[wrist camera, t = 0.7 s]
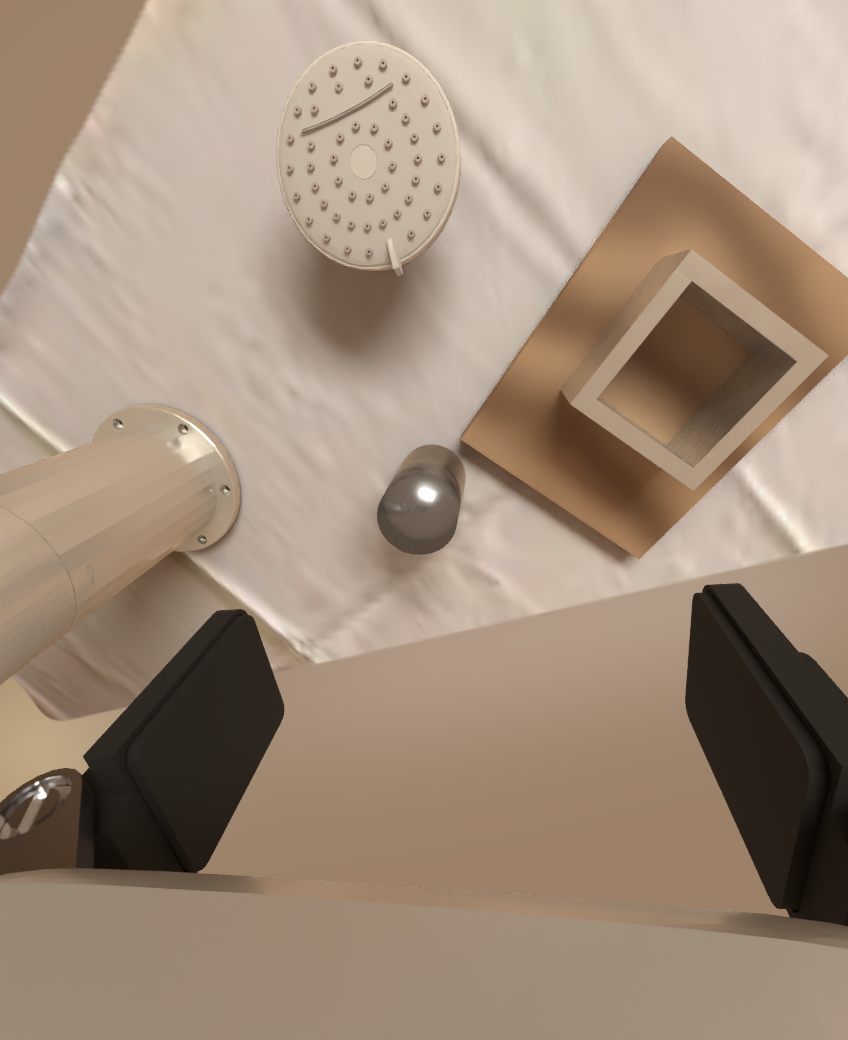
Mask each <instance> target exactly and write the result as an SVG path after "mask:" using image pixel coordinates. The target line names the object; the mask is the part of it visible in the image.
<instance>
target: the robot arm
mask: <svg viewBox="0 0 848 1040" xmlns="http://www.w3.org/2000/svg"><path fill="white" fill-rule="evenodd" d="M239 506H240V486H239V480H238V476H237V473H236V470H235V468H234V465H233V462H232V461H231V459H230V457H229V455H228V453H227V452H226V450H225V448H224V447H223V446H222V445H221V443H220V442H219V441H218V439H217V438H216V437H215V436H214V435H213V434H212V433H211V432H210V431H209V430H208V429H207V428H206V427H205V426H204V425H202V424H201V423H199V422H198V421H196V420H195V419H193V418H192V417H191V416H189V415H187V414H184V413H182V412H180V411H178V410H176V409H173V408H169V407H165V406H162V405H150V404H145V405H138V406H132V407H129V408H126V409H123V410H120V411H118V412H116V413H114V414H112V415H110V416H109V417H108V418H107V419H106V420H105V421H104V422H103V423H102V424H101V425H100V426H99V428H98V430H97V431H96V433H95V435H94V438H93V441H92V443H90V444H87V445H84V446H81V447H78V448H76V449H73V450H70V451H67V452H64V453H61V454H58V455H56V456H53V457H50V458H47V459H44V460H41V461H38V462H36V463H33V464H30V465H27V466H24V467H21V468H18V469H16V470H13V471H10V472H7V473H4V474H1V475H0V685H1V684H2V683H3V682H5V681H6V680H7V679H8V678H10V677H11V676H12V675H13V674H15V673H16V672H17V671H18V670H20V669H21V668H22V667H23V666H25V665H26V664H27V663H28V662H30V661H31V660H32V659H33V658H35V657H36V656H37V655H39V654H40V653H41V652H42V651H44V650H45V649H46V648H48V647H49V646H50V645H51V644H53V643H54V642H55V641H57V640H58V639H59V638H61V637H62V636H63V635H64V634H66V633H67V632H68V631H70V630H71V629H72V628H74V627H75V626H76V625H77V624H79V623H80V622H81V621H83V620H84V619H85V618H87V617H88V616H89V615H90V614H92V613H93V612H94V611H96V610H97V609H98V608H100V607H101V606H102V605H103V604H105V603H106V602H107V601H109V600H110V599H111V598H113V597H114V596H115V595H117V594H118V593H119V592H120V591H122V590H123V589H124V588H126V587H127V586H128V585H130V584H131V583H132V582H133V581H135V580H136V579H137V578H139V577H140V576H141V575H143V574H144V573H145V572H146V571H148V570H149V569H150V568H152V567H153V566H154V565H156V564H157V563H158V562H160V561H161V560H162V559H163V558H165V557H166V556H167V555H169V554H170V553H171V552H173V551H178V552H189V551H196V550H200V549H203V548H206V547H208V546H210V545H212V544H214V543H215V542H217V541H218V540H219V539H220V538H221V537H223V536H224V535H225V534H226V533H227V532H228V530H229V529H230V528H231V527H232V525H233V523H234V521H235V519H236V517H237V515H238V510H239ZM685 703H686V710H687V714H688V717H689V720H690V722H691V724H692V727H693V729H694V731H695V733H696V736H697V738H698V740H699V742H700V745H701V747H702V749H703V751H704V753H705V756H706V758H707V760H708V762H709V765H710V767H711V769H712V771H713V773H714V776H715V778H716V780H717V783H718V785H719V787H720V789H721V791H722V793H723V796H724V798H725V800H726V802H727V805H728V807H729V809H730V812H731V814H732V816H733V818H734V820H735V823H736V825H737V827H738V829H739V832H740V834H741V836H742V838H743V840H744V843H745V845H746V847H747V849H748V852H749V854H750V856H751V858H752V860H753V863H754V865H755V867H756V870H757V871H758V874H759V876H760V878H761V881H762V883H763V885H764V887H765V889H766V892H767V894H768V896H769V898H770V900H771V902H772V903H773V905H774V906H775V907H776V908H777V909H786V910H787V911H788V914H789V916H790V917H783V916H775V915H768V914H759V913H747V912H737V911H726V910H715V909H703V908H692V907H681V906H670V905H658V904H647V903H635V902H621V901H608V900H607V901H606V900H594V899H580V898H566V897H552V896H538V895H524V894H510V893H496V892H482V891H467V890H452V889H438V888H423V887H407V886H392V885H378V884H362V883H346V882H330V881H316V880H301V879H300V880H299V879H284V878H268V877H251V876H250V877H249V876H233V875H217V874H199V873H197V872H198V871H200V870H202V869H203V868H204V867H205V866H206V865H207V863H208V862H209V860H210V858H211V856H212V854H213V852H214V850H215V848H216V846H217V844H218V842H219V841H220V839H221V837H222V835H223V833H224V831H225V829H226V827H227V825H228V823H229V821H230V819H231V818H232V816H233V814H234V812H235V810H236V808H237V806H238V804H239V802H240V800H241V798H242V796H243V794H244V793H245V791H246V789H247V786H248V785H249V783H250V781H251V779H252V777H253V775H254V773H255V771H256V769H257V768H258V766H259V763H260V762H261V760H262V758H263V756H264V754H265V752H266V750H267V748H268V746H269V745H270V743H271V740H272V739H273V737H274V735H275V733H276V731H277V729H278V727H279V725H280V723H281V721H282V719H283V715H284V704H283V700H282V697H281V694H280V692H279V689H278V686H277V683H276V680H275V677H274V674H273V672H272V669H271V666H270V663H269V660H268V657H267V654H266V652H265V649H264V646H263V643H262V640H261V637H260V635H259V632H258V629H257V626H256V623H255V621H254V619H253V617H252V616H250V615H248V614H247V613H246V612H245V611H244V610H241V609H237V610H220V611H216V612H215V613H214V614H213V615H212V616H211V617H210V618H209V619H208V620H207V621H206V622H205V624H204V625H203V626H202V627H201V628H200V629H199V630H198V631H197V632H196V633H195V634H194V636H193V637H192V638H191V639H190V640H189V641H188V642H187V643H186V644H185V645H184V646H183V648H182V649H181V650H180V651H179V652H178V653H177V654H176V655H175V656H174V657H173V658H172V660H171V661H170V662H169V663H168V664H167V665H166V666H165V667H164V668H163V669H162V671H161V672H160V673H159V674H158V675H157V676H156V677H155V678H154V679H153V680H152V681H151V683H150V684H149V685H148V686H147V687H146V688H145V689H144V690H143V691H142V692H141V693H140V695H139V696H138V697H137V698H136V699H135V700H134V701H133V702H132V703H131V704H130V705H129V707H128V708H127V709H126V710H125V711H124V712H123V713H122V714H121V715H120V716H119V717H118V719H117V720H116V721H115V722H114V723H113V724H112V725H111V726H110V727H109V728H108V730H107V731H106V732H105V733H104V734H103V735H102V736H101V737H100V738H99V739H98V740H97V741H96V743H95V744H94V745H93V746H92V747H91V748H90V749H89V750H88V751H87V752H86V754H85V755H84V756H83V757H84V759H85V761H86V762H87V764H88V766H89V768H88V769H87V771H86V772H85V773H84V774H83V775H81V774H80V773H79V772H78V771H77V770H75V769H69V768H63V769H57V770H52V771H50V772H47V773H45V774H42V775H39V776H37V777H35V778H34V779H32V780H30V781H28V782H26V783H25V784H23V785H22V786H20V787H19V788H17V789H16V790H15V791H13V792H12V793H11V794H9V795H8V796H7V797H6V798H5V799H4V800H3V801H1V802H0V1040H848V698H847V697H846V696H845V694H844V693H843V692H842V691H841V690H840V689H839V688H838V687H837V685H836V684H835V683H834V682H833V681H832V679H831V678H830V677H829V676H828V675H827V674H826V673H825V671H824V670H823V669H822V668H821V667H820V666H819V665H818V664H817V662H816V661H815V660H814V659H812V658H811V657H810V656H809V655H807V654H805V653H802V652H798V651H797V650H796V648H795V647H794V646H793V645H792V644H791V642H790V641H789V640H788V639H787V638H786V637H785V635H784V634H783V633H782V632H781V631H780V629H779V628H778V627H777V626H776V625H775V624H774V622H773V621H772V620H771V619H770V618H769V616H768V615H767V614H766V613H765V612H764V611H763V609H762V608H761V607H760V606H759V605H758V603H757V602H756V601H755V600H754V599H753V598H752V597H751V595H750V594H749V593H748V592H747V590H746V589H745V588H744V587H743V586H742V585H741V584H738V583H736V584H716V585H706V586H704V588H703V591H702V593H695V594H694V596H693V601H692V614H691V628H690V641H689V655H688V669H687V682H686V696H685Z"/></svg>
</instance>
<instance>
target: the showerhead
mask: <svg viewBox="0 0 848 1040" xmlns="http://www.w3.org/2000/svg"><path fill="white" fill-rule="evenodd" d="M276 161H277V172H278V178H279V184H280V188H281V192H282V195H283V198H284V201H285V204H286V206H287V209H288V211H289V213H290V215H291V217H292V219H293V221H294V223H295V224H296V226H297V227H298V229H299V230H300V232H301V233H302V234H303V236H304V237H305V238H306V239H307V240H308V241H309V242H310V244H311V245H312V246H313V247H315V248H316V249H317V250H318V251H319V252H320V253H322V254H323V255H324V256H326V257H327V258H329V259H331V260H332V261H334V262H336V263H339V264H341V265H343V266H346V267H349V268H354V269H358V270H369V271H380V270H388V269H392V268H393V269H394V271H395V273H396V275H397V276H400V275H402V274H403V271H402V267H401V266H402V265H404V264H406V263H408V262H410V261H412V260H413V259H415V258H416V257H418V256H419V255H420V254H422V253H423V252H424V251H425V250H426V249H428V248H429V247H430V246H431V245H432V243H433V242H434V241H435V240H436V239H437V237H438V236H439V235H440V233H441V232H442V230H443V228H444V227H445V225H446V223H447V221H448V219H449V217H450V215H451V213H452V210H453V207H454V204H455V201H456V197H457V194H458V189H459V183H460V174H461V157H460V146H459V138H458V131H457V127H456V122H455V119H454V116H453V113H452V110H451V107H450V105H449V102H448V100H447V98H446V96H445V94H444V92H443V90H442V88H441V87H440V85H439V84H438V82H437V81H436V79H435V78H434V77H433V76H432V74H431V73H430V72H429V71H428V70H427V69H426V68H425V67H424V66H423V65H422V64H421V63H420V62H419V61H418V60H417V59H415V58H414V57H413V56H411V55H410V54H408V53H407V52H405V51H403V50H401V49H399V48H397V47H395V46H392V45H389V44H386V43H381V42H375V41H358V42H352V43H347V44H344V45H341V46H338V47H336V48H334V49H332V50H330V51H328V52H327V53H325V54H323V55H322V56H320V57H319V58H318V59H317V60H316V61H314V62H313V63H312V64H311V65H310V66H309V67H308V68H307V69H306V70H305V71H304V73H303V74H302V75H301V77H300V78H299V79H298V81H297V82H296V84H295V85H294V87H293V89H292V91H291V93H290V95H289V97H288V99H287V101H286V104H285V106H284V109H283V112H282V116H281V119H280V124H279V128H278V135H277V147H276Z"/></svg>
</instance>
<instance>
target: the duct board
mask: <svg viewBox="0 0 848 1040" xmlns="http://www.w3.org/2000/svg"><path fill="white" fill-rule="evenodd" d="M847 355H848V278H847V277H846V276H845V275H843V274H842V273H841V272H840V271H838V270H837V269H836V268H835V267H833V266H832V265H831V264H830V263H829V262H827V261H826V260H825V259H824V258H822V257H821V256H820V255H819V254H817V253H816V252H815V251H814V250H812V249H811V248H810V247H809V246H807V245H806V244H805V243H804V242H802V241H801V240H800V239H799V238H797V237H796V236H795V235H794V234H792V233H791V232H790V231H789V230H787V229H786V228H785V227H784V226H783V225H781V224H780V223H779V222H778V221H776V220H775V219H774V218H773V217H771V216H770V215H769V214H768V213H766V212H765V211H764V210H763V209H761V208H760V207H759V206H758V205H756V204H755V203H754V202H753V201H751V200H750V199H749V198H748V197H746V196H745V195H744V194H743V193H741V192H740V191H739V190H738V189H736V188H735V187H734V186H733V185H732V184H730V183H729V182H728V181H727V180H725V179H724V178H723V177H722V176H720V175H719V174H718V173H717V172H715V171H714V170H713V169H712V168H710V167H709V166H708V165H707V164H705V163H704V162H703V161H702V160H700V159H699V158H698V157H697V156H695V155H694V154H693V153H692V152H690V151H689V150H688V149H687V148H686V147H684V146H683V145H682V144H681V143H679V142H678V141H677V140H676V139H674V138H673V137H671V138H669V139H668V140H667V141H666V142H665V143H664V144H663V145H662V147H661V148H660V150H659V151H658V153H657V154H656V156H655V157H654V158H653V160H652V161H651V163H650V164H649V166H648V167H647V169H646V170H645V171H644V173H643V174H642V176H641V177H640V179H639V180H638V182H637V183H636V184H635V186H634V187H633V189H632V190H631V192H630V193H629V195H628V196H627V197H626V199H625V200H624V202H623V203H622V205H621V206H620V207H619V209H618V210H617V212H616V213H615V215H614V216H613V218H612V219H611V220H610V222H609V223H608V225H607V226H606V228H605V229H604V231H603V232H602V233H601V235H600V236H599V238H598V239H597V241H596V242H595V244H594V245H593V246H592V248H591V249H590V251H589V252H588V254H587V255H586V257H585V258H584V259H583V261H582V262H581V264H580V265H579V267H578V268H577V269H576V271H575V272H574V274H573V275H572V277H571V278H570V280H569V281H568V282H567V284H566V285H565V287H564V288H563V290H562V291H561V293H560V294H559V295H558V297H557V298H556V300H555V301H554V303H553V304H552V306H551V307H550V308H549V310H548V311H547V313H546V314H545V316H544V317H543V319H542V320H541V321H540V323H539V324H538V326H537V327H536V329H535V330H534V331H533V333H532V334H531V336H530V337H529V339H528V340H527V342H526V343H525V344H524V346H523V347H522V349H521V350H520V352H519V353H518V355H517V356H516V357H515V359H514V360H513V362H512V363H511V365H510V366H509V368H508V369H507V370H506V372H505V373H504V375H503V376H502V378H501V379H500V381H499V382H498V383H497V385H496V386H495V388H494V389H493V391H492V392H491V394H490V395H489V396H488V398H487V399H486V401H485V402H484V404H483V405H482V406H481V408H480V409H479V411H478V412H477V414H476V415H475V417H474V418H473V419H472V421H471V422H470V424H469V425H468V427H467V428H466V430H465V431H464V432H463V434H462V437H461V440H462V441H463V442H465V443H466V444H468V445H469V446H471V447H472V448H474V449H475V450H477V451H478V452H480V453H481V454H483V455H484V456H486V457H487V458H489V459H490V460H492V461H493V462H495V463H496V464H498V465H499V466H501V467H502V468H504V469H505V470H507V471H508V472H510V473H511V474H513V475H514V476H516V477H517V478H518V479H520V480H521V481H523V482H524V483H526V484H527V485H529V486H530V487H532V488H533V489H535V490H536V491H538V492H539V493H541V494H542V495H544V496H545V497H547V498H548V499H550V500H551V501H553V502H554V503H556V504H557V505H559V506H560V507H562V508H563V509H565V510H566V511H568V512H569V513H571V514H572V515H574V516H575V517H577V518H578V519H580V520H581V521H583V522H584V523H586V524H587V525H589V526H590V527H591V528H593V529H594V530H596V531H597V532H599V533H600V534H602V535H603V536H605V537H606V538H608V539H609V540H611V541H612V542H614V543H615V544H617V545H618V546H620V547H621V548H623V549H624V550H626V551H627V552H629V553H630V554H632V555H633V556H635V557H636V558H638V559H640V558H641V557H642V556H643V555H644V554H645V553H646V552H647V551H648V550H649V549H650V548H651V547H652V546H653V545H654V544H655V543H656V542H657V541H658V540H659V539H660V538H661V537H662V536H663V535H664V534H665V533H666V532H667V531H668V530H669V529H670V528H671V527H672V526H673V525H674V524H675V523H676V522H677V521H679V520H680V519H681V518H682V517H683V516H684V515H685V514H686V513H687V512H688V511H689V510H690V509H691V508H692V507H693V506H694V505H695V504H696V503H697V502H698V501H699V500H700V499H701V498H702V497H703V496H704V495H705V494H706V493H707V492H708V491H709V490H710V489H711V488H712V487H713V486H714V485H715V484H716V483H717V482H718V481H719V480H720V479H721V478H722V477H723V476H724V475H725V474H726V473H727V472H728V471H729V470H730V469H731V468H732V467H733V466H735V465H736V464H737V463H738V462H739V461H740V460H741V459H742V458H743V457H744V456H745V455H746V454H747V453H748V452H749V451H750V450H751V449H752V448H753V447H754V446H755V445H756V444H757V443H758V442H759V441H760V440H761V439H762V438H763V437H764V436H765V435H766V434H767V433H768V432H769V431H770V430H771V429H772V428H773V427H774V426H775V425H776V424H777V423H778V422H779V421H780V420H781V419H782V418H783V417H784V416H785V415H786V414H787V413H788V412H789V411H791V410H792V409H793V408H794V407H795V406H796V405H797V404H798V403H799V402H800V401H801V400H802V399H803V398H804V397H805V396H806V395H807V394H808V393H809V392H810V391H811V390H812V389H813V388H814V387H815V386H816V385H817V384H818V383H819V382H820V381H821V380H822V379H823V378H824V377H825V376H826V375H827V374H828V373H829V372H830V371H831V370H832V369H833V368H834V367H835V366H836V365H837V364H838V363H839V362H840V361H841V360H842V359H843V358H844V357H845V356H847Z"/></svg>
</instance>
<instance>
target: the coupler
mask: <svg viewBox="0 0 848 1040" xmlns="http://www.w3.org/2000/svg"><path fill="white" fill-rule="evenodd" d="M464 485H465V470H464V466H463V464H462V462H461V460H460V459H459V458H458V456H457V455H456V454H455V453H453V452H452V451H451V450H449V449H447V448H445V447H443V446H439V445H425V446H421V447H419V448H417V449H415V450H413V451H412V452H411V453H410V454H409V455H408V456H407V457H406V459H405V460H404V462H403V464H402V465H401V467H400V469H399V470H398V472H397V474H396V475H395V477H394V479H393V480H392V482H391V484H390V486H389V487H388V489H387V491H386V492H385V494H384V496H383V497H382V499H381V501H380V503H379V506H378V512H377V518H378V524H379V527H380V530H381V532H382V534H383V535H384V537H385V538H386V539H387V540H388V541H389V542H390V543H391V544H392V545H393V546H395V547H396V548H398V549H400V550H402V551H404V552H407V553H411V554H420V555H421V554H429V553H433V552H435V551H438V550H440V549H441V548H443V547H444V546H445V545H446V544H447V543H448V542H449V541H450V540H451V538H452V537H453V535H454V533H455V530H456V526H457V521H458V516H459V511H460V505H461V500H462V495H463V490H464Z"/></svg>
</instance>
